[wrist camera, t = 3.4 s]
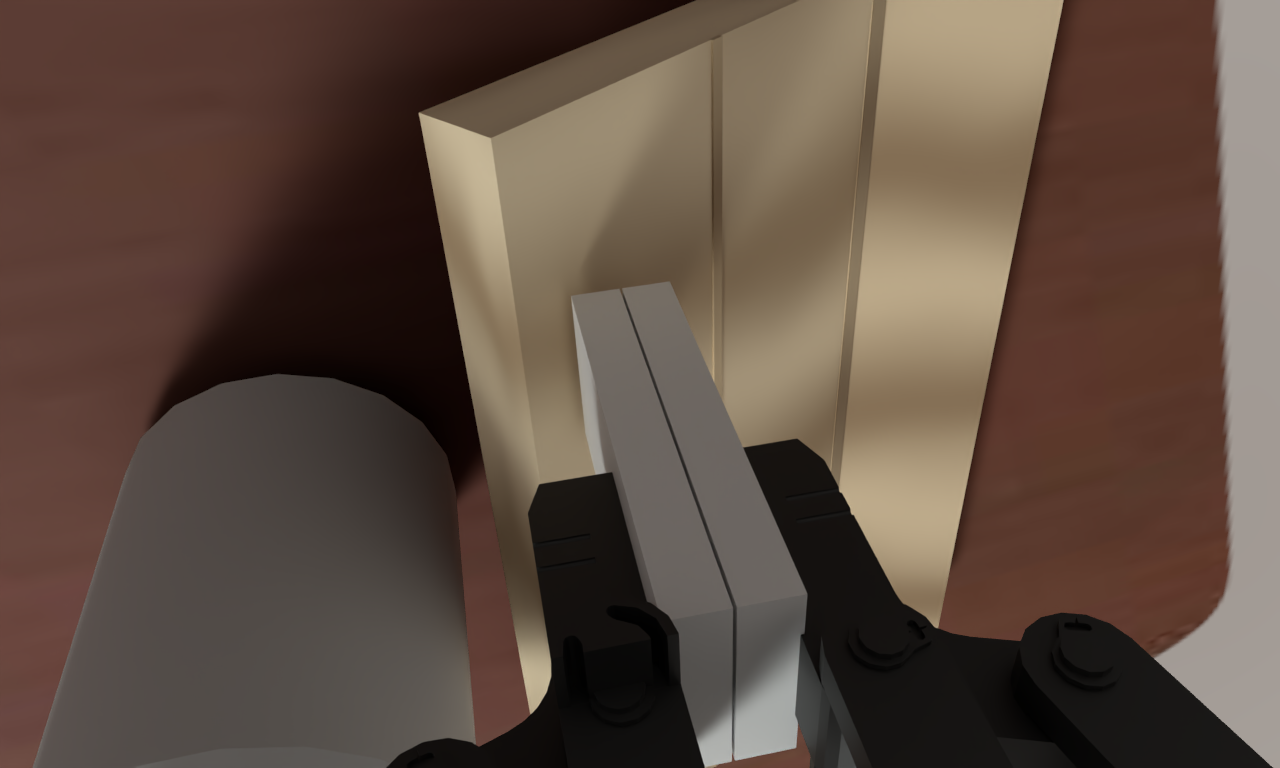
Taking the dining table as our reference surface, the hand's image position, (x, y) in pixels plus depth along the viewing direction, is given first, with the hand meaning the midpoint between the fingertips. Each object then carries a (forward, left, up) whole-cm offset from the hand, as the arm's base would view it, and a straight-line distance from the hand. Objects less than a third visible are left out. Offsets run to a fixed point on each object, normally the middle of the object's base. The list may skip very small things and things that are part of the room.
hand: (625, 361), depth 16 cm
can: (+7, -7, -7) cm, 12 cm away
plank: (+6, +1, -4) cm, 7 cm away
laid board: (+6, +8, -7) cm, 12 cm away
